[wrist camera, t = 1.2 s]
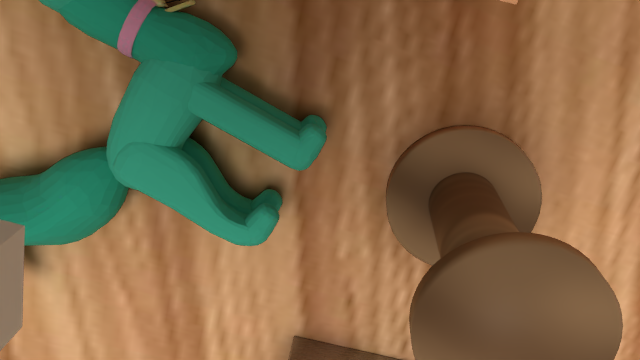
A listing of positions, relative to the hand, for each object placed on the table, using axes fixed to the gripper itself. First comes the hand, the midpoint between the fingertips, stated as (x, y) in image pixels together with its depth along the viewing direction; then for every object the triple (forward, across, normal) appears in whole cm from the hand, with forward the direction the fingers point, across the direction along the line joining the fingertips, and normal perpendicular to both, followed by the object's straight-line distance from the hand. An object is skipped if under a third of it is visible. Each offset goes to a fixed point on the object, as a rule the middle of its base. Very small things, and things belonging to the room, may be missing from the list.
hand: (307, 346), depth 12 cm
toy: (+19, -12, -4) cm, 23 cm away
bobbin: (+18, +7, -3) cm, 20 cm away
